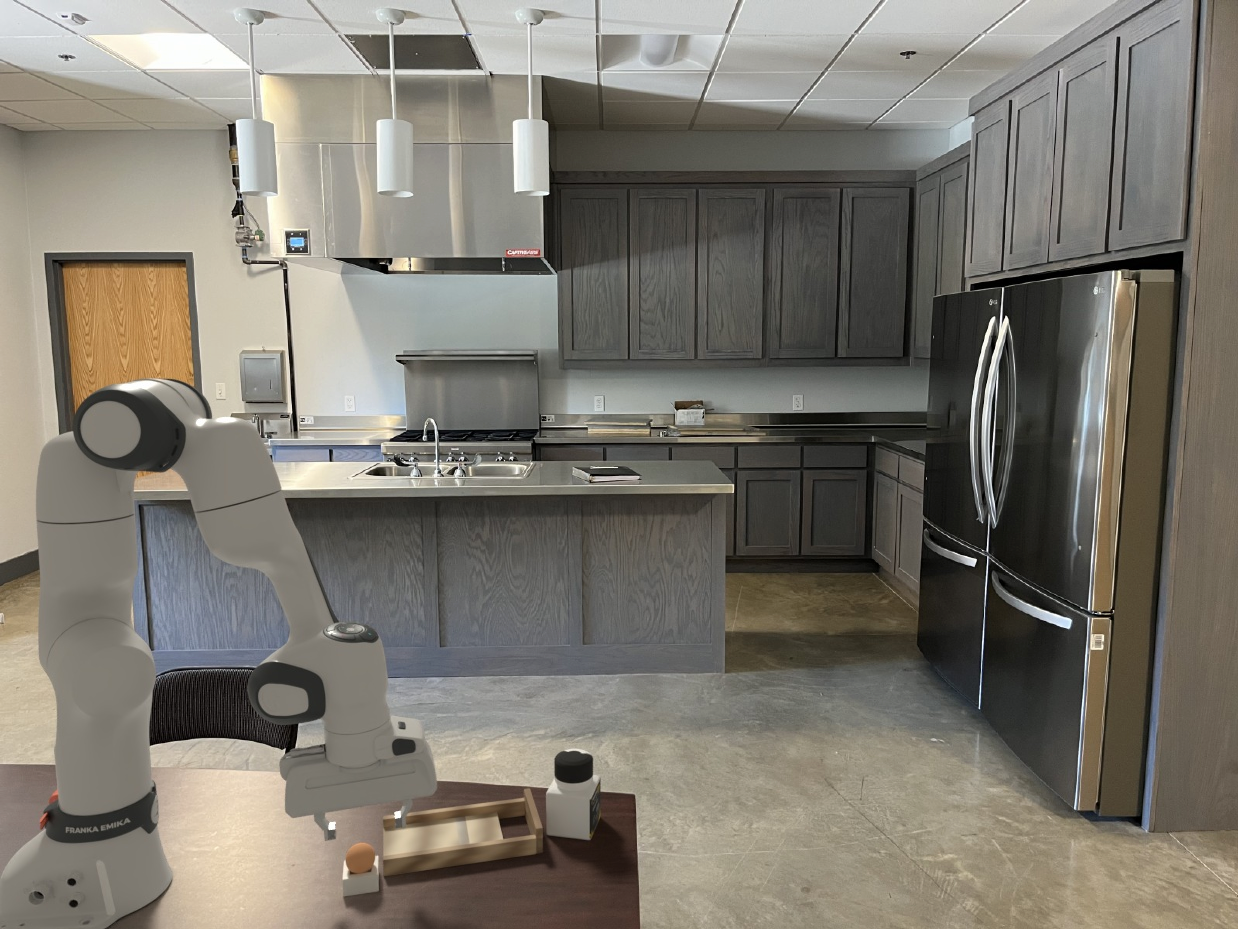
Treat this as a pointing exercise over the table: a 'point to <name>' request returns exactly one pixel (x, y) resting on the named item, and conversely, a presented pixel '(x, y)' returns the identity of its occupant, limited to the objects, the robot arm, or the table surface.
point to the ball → (360, 858)
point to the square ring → (361, 880)
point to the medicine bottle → (573, 796)
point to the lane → (459, 836)
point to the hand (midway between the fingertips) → (366, 832)
